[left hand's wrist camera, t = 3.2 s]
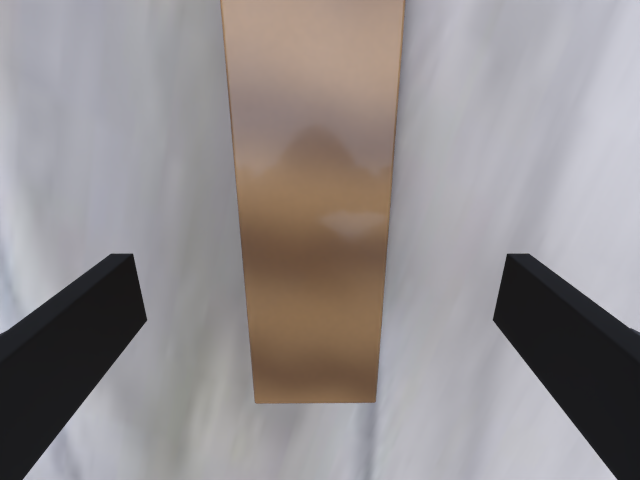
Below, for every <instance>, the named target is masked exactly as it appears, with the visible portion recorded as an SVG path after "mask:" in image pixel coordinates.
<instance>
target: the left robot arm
mask: <svg viewBox="0 0 640 480" xmlns="http://www.w3.org/2000/svg"><path fill="white" fill-rule="evenodd" d="M146 321H147V317H146V312H145V308H144V303H143V298H142V294H141V289H140V284H139V280H138V275H137V271H136V266H135V261H134V257H133V254H110V255H109V256H107V257H106V258H105V259H103V260H102V261H101V262H99V263H98V264H97V265H95V266H94V267H93V268H91V269H90V270H88V271H87V272H86V273H84V274H83V275H82V276H80V277H79V278H78V279H76V280H75V281H74V282H72V283H71V284H70V285H68V286H67V287H66V288H64V289H63V290H61V291H60V292H59V293H57V294H56V295H55V296H53V297H52V298H51V299H49V300H48V301H47V302H45V303H44V304H43V305H41V306H40V307H39V308H37V309H36V310H34V311H33V312H32V313H30V314H29V315H28V316H26V317H25V318H24V319H22V320H21V321H20V322H18V323H17V324H16V325H14V326H13V327H12V328H10V329H9V330H8V331H6V332H4V333H2V334H0V480H23V478H24V477H25V476H26V475H27V473H28V472H29V471H30V469H31V468H32V467H33V466H34V464H35V463H36V462H37V461H38V459H39V458H40V457H41V455H42V454H43V453H44V452H45V450H46V449H47V448H48V446H49V445H50V444H51V443H52V441H53V440H54V439H55V437H56V436H57V435H58V434H59V432H60V431H61V430H62V429H63V427H64V426H65V425H66V423H67V422H68V421H69V420H70V418H71V417H72V416H73V414H74V413H75V412H76V411H77V409H78V408H79V407H80V405H81V404H82V403H83V402H84V400H85V399H86V398H87V397H88V395H89V394H90V393H91V391H92V390H93V389H94V388H95V386H96V385H97V384H98V382H99V381H100V380H101V379H102V377H103V376H104V375H105V373H106V372H107V371H108V370H109V368H110V367H111V366H112V365H113V363H114V362H115V361H116V359H117V358H118V357H119V356H120V354H121V353H122V352H123V350H124V349H125V348H126V347H127V345H128V344H129V343H130V341H131V340H132V339H133V338H134V336H135V335H136V334H137V333H138V331H139V330H140V329H141V327H142V326H143V325H144V324H145V322H146ZM493 321H494V322H495V324H496V325H497V326H498V327H499V329H500V330H501V331H502V333H503V334H504V335H505V336H506V338H507V339H508V340H509V341H510V343H511V344H512V345H513V347H514V348H515V349H516V350H517V352H518V353H519V354H520V356H521V357H522V358H523V359H524V361H525V362H526V363H527V365H528V366H529V367H530V368H531V370H532V371H533V372H534V373H535V375H536V376H537V377H538V379H539V380H540V381H541V382H542V384H543V385H544V386H545V388H546V389H547V390H548V391H549V393H550V394H551V395H552V397H553V398H554V399H555V400H556V402H557V403H558V404H559V405H560V407H561V408H562V409H563V411H564V412H565V413H566V414H567V416H568V417H569V418H570V420H571V421H572V422H573V423H574V425H575V426H576V427H577V429H578V430H579V431H580V432H581V434H582V435H583V436H584V437H585V439H586V440H587V441H588V443H589V444H590V445H591V446H592V448H593V449H594V450H595V452H596V453H597V454H598V455H599V457H600V458H601V459H602V461H603V462H604V463H605V464H606V466H607V467H608V468H609V469H610V471H611V472H612V473H613V475H614V476H615V477H616V478H617V480H640V332H638V331H636V330H634V329H632V328H628V327H627V326H626V325H624V324H623V323H622V322H620V321H619V320H618V319H616V318H615V317H614V316H612V315H611V314H610V313H608V312H607V311H606V310H604V309H603V308H601V307H600V306H599V305H597V304H596V303H595V302H593V301H592V300H591V299H589V298H588V297H587V296H585V295H584V294H583V293H581V292H580V291H579V290H577V289H576V288H574V287H573V286H572V285H570V284H569V283H568V282H566V281H565V280H564V279H562V278H561V277H560V276H558V275H557V274H556V273H554V272H553V271H552V270H550V269H549V268H547V267H546V266H545V265H543V264H542V263H541V262H539V261H538V260H537V259H535V258H534V257H533V256H531V255H530V254H507V257H506V261H505V266H504V271H503V275H502V280H501V284H500V289H499V294H498V298H497V303H496V308H495V312H494V317H493Z"/></svg>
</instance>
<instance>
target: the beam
mask: <svg viewBox="0 0 640 480" xmlns="http://www.w3.org/2000/svg"><path fill="white" fill-rule="evenodd" d="M405 1H406V0H220V3H221V15H222V27H223V38H224V50H225V61H226V73H227V85H228V96H229V108H230V119H231V131H232V143H233V154H234V166H235V177H236V189H237V201H238V212H239V224H240V235H241V247H242V258H243V270H244V282H245V293H246V305H247V316H248V328H249V340H250V351H251V363H252V374H253V386H254V398H255V403H257V404H262V403H375V402H376V393H377V380H378V366H379V353H380V339H381V326H382V312H383V299H384V285H385V272H386V258H387V245H388V231H389V218H390V204H391V190H392V177H393V163H394V150H395V136H396V123H397V109H398V96H399V82H400V69H401V55H402V42H403V28H404V15H405Z"/></svg>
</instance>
